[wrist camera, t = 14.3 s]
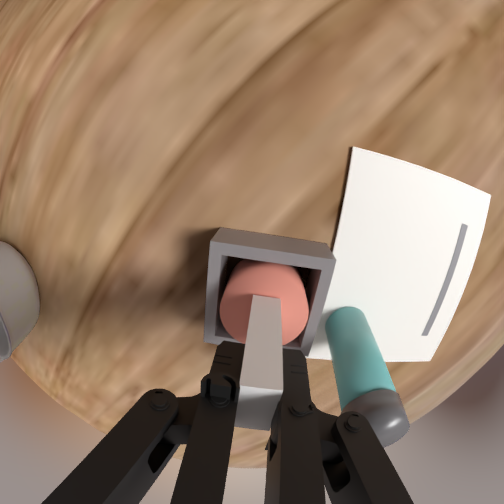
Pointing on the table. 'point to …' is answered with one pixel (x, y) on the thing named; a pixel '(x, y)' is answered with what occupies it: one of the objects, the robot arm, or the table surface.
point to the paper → (402, 253)
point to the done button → (269, 285)
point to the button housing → (275, 252)
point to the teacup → (16, 299)
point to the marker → (364, 375)
